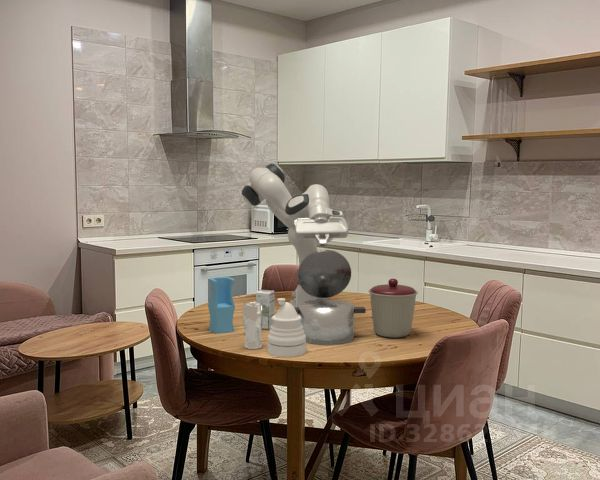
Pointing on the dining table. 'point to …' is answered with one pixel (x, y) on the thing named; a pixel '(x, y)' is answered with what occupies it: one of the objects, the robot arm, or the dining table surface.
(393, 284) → the canister
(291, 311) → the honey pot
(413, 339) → the dining table surface
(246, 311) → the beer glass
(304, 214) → the robot arm
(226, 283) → the blue toy chair
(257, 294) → the syrup box
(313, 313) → the cooker pot
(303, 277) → the cooker lid
